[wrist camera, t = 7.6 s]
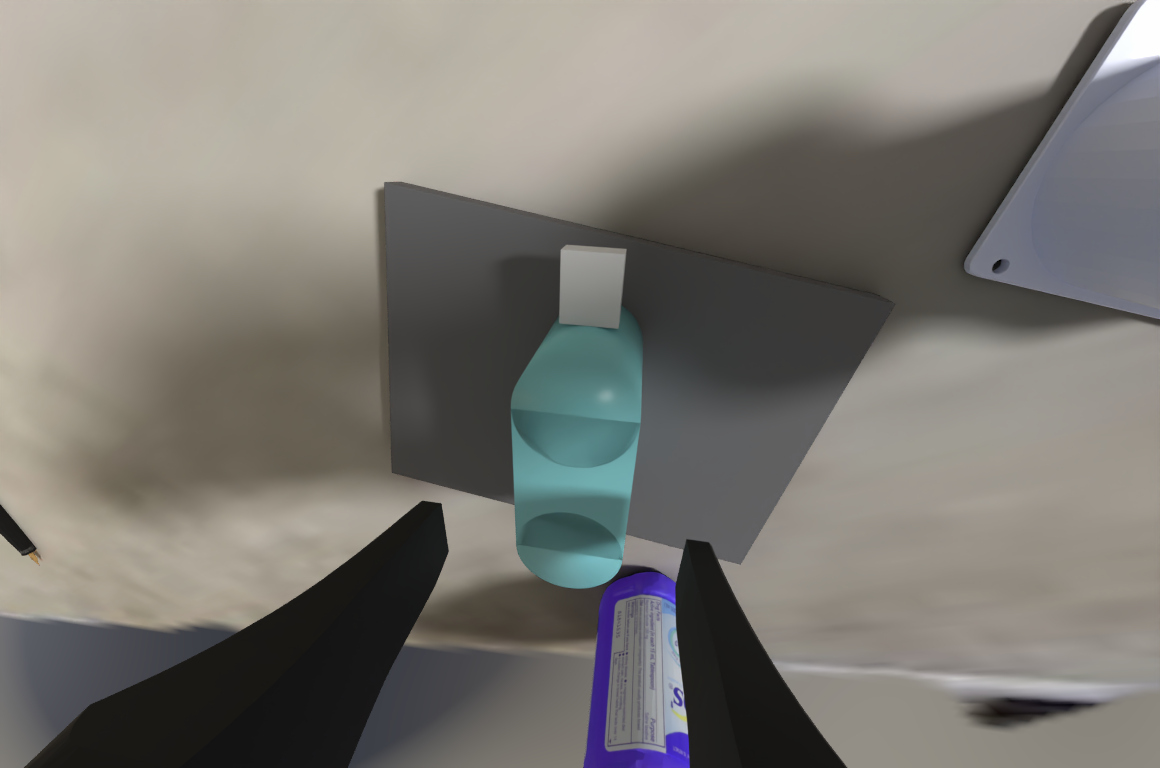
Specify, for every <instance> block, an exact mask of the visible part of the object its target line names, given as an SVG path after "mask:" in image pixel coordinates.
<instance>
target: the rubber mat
mask: <svg viewBox="0 0 1160 768" xmlns="http://www.w3.org/2000/svg"><path fill="white" fill-rule="evenodd" d="M384 189H385V228H386V267H387V305H388V344H389V383H390V422H391V460H392V473H395V474H399V475H403V476H406V477H410V478H414V479H418V480H422V481H425V482H429V483H433V484H437V485H441V486H444V487H448V488H452V489H456V490H459V491H463V492H467V493H471V494H475V495H478V496H482V497H486V498H490V499H494V500H497V501H501V502H505V503H509V504H513V505H515V500H514V475H513V450H512V425H511V399H512V394H513V391H514V388H515V386H516V384H517V382H518V380H519V379H520V377H521V375H522V374H523V372H524V371H525V369H526V367H527V366H528V364H529V363H530V361H531V359H532V358H533V356H534V355H535V353H536V351H537V350H538V348H539V346H540V345H541V343H542V342H543V340H544V338H545V337H546V335H547V334H548V332H549V330H550V329H551V327H552V326H553V324H554V322H555V321H556V319H557V318H558V316H559V310H560V263H561V249H562V248H563V247H564V246H566V245H577V246H592V247H606V248H620V249H627V251H626V262H625V272H624V283H623V294H622V304H621V305H622V306H623V307H625V308H626V309H627V310H628V311H629V312H630V313H631V314H632V315H633V316H634V317H635V319H636V320H637V322H638V324H639V326H640V329H641V332H642V336H643V363H642V398H641V424H640V431H639V439H638V446H637V454H636V461H635V469H634V476H633V484H632V491H631V499H630V506H629V514H628V521H627V529H626V535H630V536H634V537H638V538H642V539H645V540H649V541H653V542H657V543H661V544H664V545H668V546H672V547H676V548H680V549H683V550H684V547H685V543H686V539H690V540H697V541H704V542H709V543H710V544H711V545H712V547H713V550H714V552H715V555H716V557H717V559H721V560H725V561H729V562H733V563H736V564H740V565H741V563H742V561H743V560H744V558H745V556H746V555H747V553H748V551H749V550H750V548H751V546H752V544H753V543H754V541H755V539H756V538H757V536H758V534H759V533H760V531H761V529H762V528H763V526H764V524H765V523H766V521H767V519H768V518H769V516H770V514H771V512H772V511H773V509H774V507H775V506H776V504H777V502H778V501H779V499H780V497H781V496H782V494H783V492H784V491H785V489H786V487H787V486H788V484H789V482H790V481H791V479H792V477H793V475H794V474H795V472H796V470H797V469H798V467H799V465H800V464H801V462H802V460H803V459H804V457H805V455H806V454H807V452H808V450H809V449H810V447H811V445H812V443H813V442H814V440H815V438H816V437H817V435H818V433H819V432H820V430H821V428H822V427H823V425H824V423H825V422H826V420H827V418H828V417H829V415H830V413H831V411H832V410H833V408H834V406H835V405H836V403H837V401H838V400H839V398H840V396H841V395H842V393H843V391H844V390H845V388H846V386H847V385H848V383H849V381H850V380H851V378H852V376H853V374H854V373H855V371H856V369H857V368H858V366H859V364H860V363H861V361H862V359H863V358H864V356H865V354H866V353H867V351H868V349H869V348H870V346H871V344H872V342H873V341H874V339H875V337H876V336H877V334H878V332H879V331H880V329H881V327H882V326H883V324H884V322H885V321H886V319H887V317H888V316H889V314H890V312H891V311H892V309H893V307H894V305H895V304H894V303H892V302H891V301H889V300H887V299H885V298H883V297H881V296H879V295H875V294H871V293H867V292H862V291H858V290H854V289H850V288H845V287H841V286H837V285H833V284H829V283H824V282H820V281H816V280H812V279H808V278H803V277H799V276H795V275H791V274H787V273H782V272H778V271H774V270H770V269H766V268H761V267H757V266H753V265H749V264H745V263H740V262H736V261H732V260H728V259H724V258H719V257H715V256H711V255H707V254H702V253H698V252H694V251H690V250H686V249H681V248H677V247H673V246H669V245H665V244H660V243H656V242H652V241H648V240H644V239H639V238H635V237H631V236H627V235H623V234H618V233H614V232H610V231H606V230H602V229H597V228H593V227H589V226H585V225H580V224H576V223H572V222H568V221H564V220H559V219H555V218H551V217H547V216H543V215H538V214H534V213H530V212H526V211H522V210H517V209H513V208H509V207H505V206H501V205H496V204H492V203H488V202H484V201H480V200H475V199H471V198H467V197H463V196H459V195H454V194H450V193H446V192H442V191H437V190H433V189H429V188H425V187H421V186H416V185H412V184H408V183H404V182H384Z"/></svg>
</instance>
